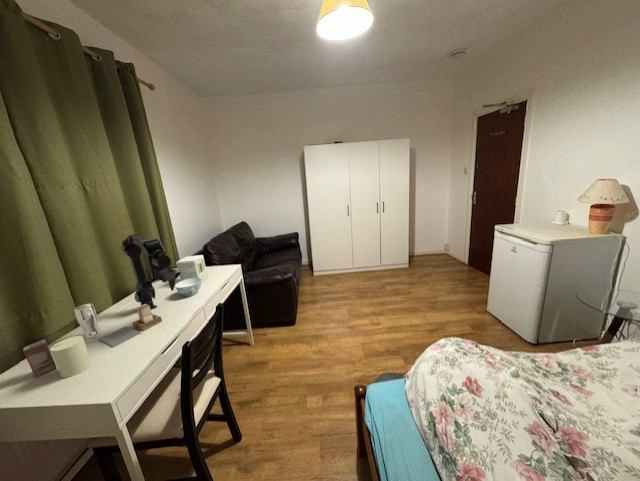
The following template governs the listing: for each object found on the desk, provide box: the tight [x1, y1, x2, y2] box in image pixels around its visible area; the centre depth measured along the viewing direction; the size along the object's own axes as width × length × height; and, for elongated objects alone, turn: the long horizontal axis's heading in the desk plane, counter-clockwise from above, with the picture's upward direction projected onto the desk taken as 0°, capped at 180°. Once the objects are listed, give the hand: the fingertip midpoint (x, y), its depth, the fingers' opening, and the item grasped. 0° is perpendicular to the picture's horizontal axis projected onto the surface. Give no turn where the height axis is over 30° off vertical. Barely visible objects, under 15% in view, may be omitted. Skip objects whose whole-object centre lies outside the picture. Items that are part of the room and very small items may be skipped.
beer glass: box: [73, 302, 102, 340], centre depth 121 cm, size 7×7×15 cm
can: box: [49, 335, 93, 379], centre depth 97 cm, size 9×9×12 cm
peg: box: [136, 304, 153, 324], centre depth 126 cm, size 4×4×10 cm
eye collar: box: [132, 313, 163, 332], centre depth 127 cm, size 9×9×2 cm
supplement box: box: [175, 254, 209, 284], centre depth 179 cm, size 13×13×18 cm
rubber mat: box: [98, 326, 141, 348], centre depth 119 cm, size 14×11×1 cm
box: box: [22, 339, 58, 378], centre depth 98 cm, size 6×4×12 cm
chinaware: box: [174, 278, 203, 297], centre depth 159 cm, size 15×15×8 cm
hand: (163, 294), depth 127 cm, fingers open, 9 cm apart
